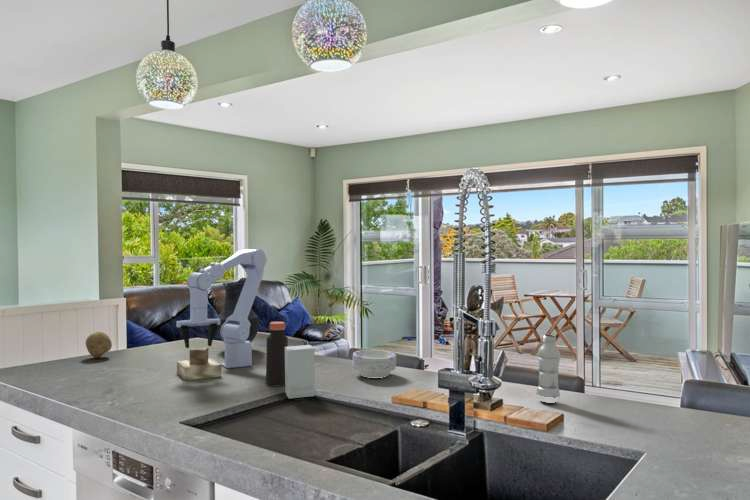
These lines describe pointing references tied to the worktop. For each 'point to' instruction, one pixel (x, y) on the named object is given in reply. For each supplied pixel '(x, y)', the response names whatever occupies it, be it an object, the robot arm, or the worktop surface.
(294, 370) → the skincare box
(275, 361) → the vinegar
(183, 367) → the birch pedestal
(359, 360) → the grey stone bowl
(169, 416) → the worktop surface
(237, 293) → the pitcher
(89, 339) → the natural sponge
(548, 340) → the plastic bottle
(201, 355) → the walnut cube
